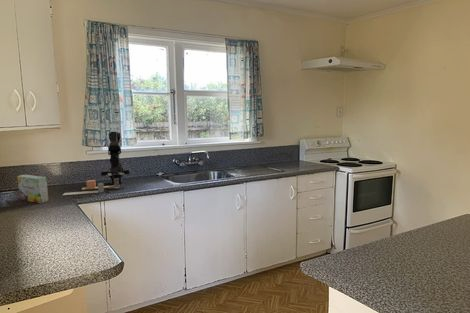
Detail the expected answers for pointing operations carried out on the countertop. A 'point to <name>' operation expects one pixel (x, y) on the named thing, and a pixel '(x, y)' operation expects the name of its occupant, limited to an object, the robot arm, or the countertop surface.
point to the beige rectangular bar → (116, 185)
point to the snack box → (33, 188)
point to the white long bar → (100, 189)
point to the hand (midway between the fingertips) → (116, 184)
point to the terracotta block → (91, 184)
